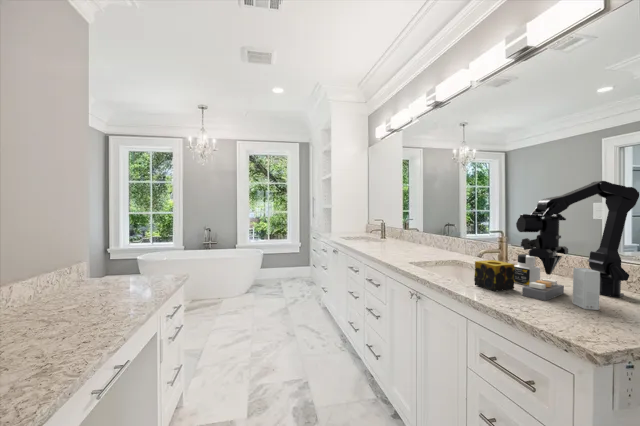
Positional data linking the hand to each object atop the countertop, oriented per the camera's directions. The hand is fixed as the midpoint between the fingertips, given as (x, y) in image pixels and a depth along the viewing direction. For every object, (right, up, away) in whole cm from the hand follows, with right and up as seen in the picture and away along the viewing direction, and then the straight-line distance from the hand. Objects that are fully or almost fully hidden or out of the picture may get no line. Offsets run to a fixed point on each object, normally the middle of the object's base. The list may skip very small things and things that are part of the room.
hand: (548, 274), depth 111 cm
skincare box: (0, -8, -15) cm, 17 cm away
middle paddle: (-3, -4, -2) cm, 6 cm away
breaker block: (-3, -7, -2) cm, 8 cm away
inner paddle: (+1, -4, +1) cm, 4 cm away
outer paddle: (-8, -4, -5) cm, 10 cm away
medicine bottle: (+2, -7, +14) cm, 16 cm away
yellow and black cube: (-16, -7, +8) cm, 19 cm away
